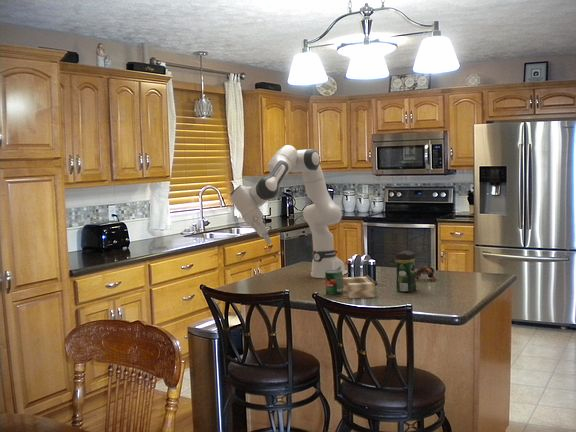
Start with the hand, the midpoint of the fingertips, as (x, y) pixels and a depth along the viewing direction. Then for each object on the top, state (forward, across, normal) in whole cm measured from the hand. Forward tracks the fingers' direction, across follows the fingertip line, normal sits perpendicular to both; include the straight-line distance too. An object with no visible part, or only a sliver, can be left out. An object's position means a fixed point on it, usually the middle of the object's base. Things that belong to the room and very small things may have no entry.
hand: (270, 243), depth 283 cm
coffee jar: (+53, 0, -41) cm, 67 cm away
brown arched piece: (+58, +22, -57) cm, 84 cm away
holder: (+41, -1, -22) cm, 47 cm away
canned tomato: (+36, 0, -12) cm, 38 cm away
